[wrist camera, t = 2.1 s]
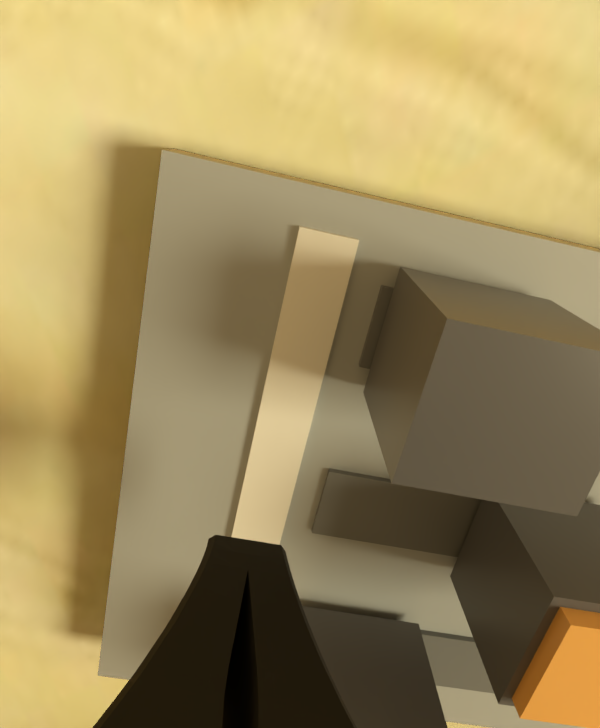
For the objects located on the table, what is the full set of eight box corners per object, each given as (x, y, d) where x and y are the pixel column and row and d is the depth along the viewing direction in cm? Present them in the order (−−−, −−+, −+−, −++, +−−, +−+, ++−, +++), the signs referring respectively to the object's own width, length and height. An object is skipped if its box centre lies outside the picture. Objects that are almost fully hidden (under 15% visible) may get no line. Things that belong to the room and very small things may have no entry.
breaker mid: (566, 594, 14) (659, 744, 11) (449, 575, 14) (505, 724, 10) (613, 507, 13) (732, 641, 10) (487, 484, 13) (564, 614, 9)
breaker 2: (502, 419, 12) (576, 516, 9) (363, 392, 12) (391, 483, 9) (550, 299, 11) (653, 362, 8) (400, 266, 11) (447, 318, 8)
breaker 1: (388, 696, 15) (415, 838, 12) (277, 681, 15) (276, 823, 12) (418, 623, 14) (455, 757, 11) (300, 605, 14) (305, 739, 11)
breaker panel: (709, 722, 19) (740, 765, 17) (110, 639, 16) (96, 680, 15) (991, 340, 13) (1063, 361, 12) (173, 148, 11) (160, 149, 10)
